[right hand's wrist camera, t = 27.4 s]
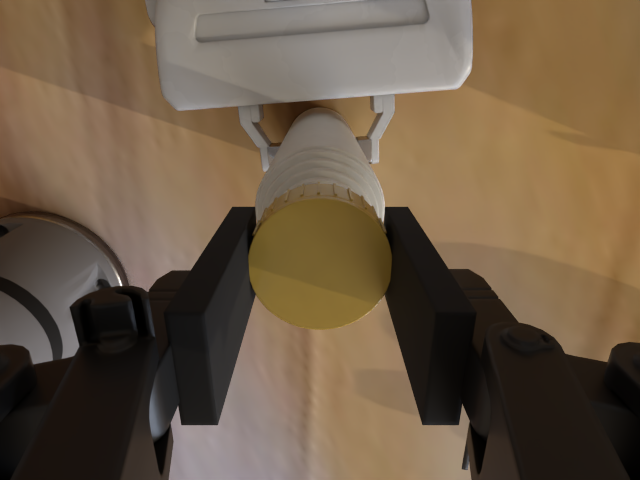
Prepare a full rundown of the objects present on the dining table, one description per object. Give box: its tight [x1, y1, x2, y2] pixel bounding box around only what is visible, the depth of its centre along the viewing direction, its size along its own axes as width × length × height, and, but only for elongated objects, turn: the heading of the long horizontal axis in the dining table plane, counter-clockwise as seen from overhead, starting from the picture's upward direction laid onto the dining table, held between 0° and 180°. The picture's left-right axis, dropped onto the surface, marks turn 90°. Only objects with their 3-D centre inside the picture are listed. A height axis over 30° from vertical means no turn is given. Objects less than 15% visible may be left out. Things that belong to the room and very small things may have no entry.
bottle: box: [255, 107, 385, 222], centre depth 25 cm, size 6×6×25 cm
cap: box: [248, 182, 392, 330], centre depth 13 cm, size 4×4×2 cm
